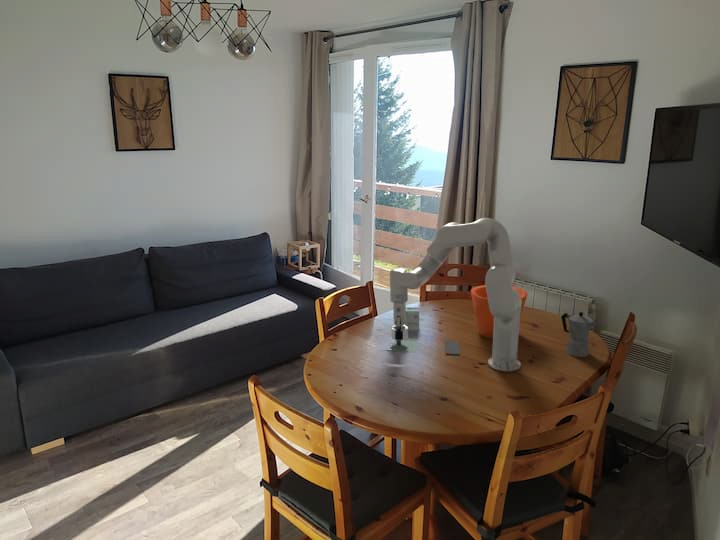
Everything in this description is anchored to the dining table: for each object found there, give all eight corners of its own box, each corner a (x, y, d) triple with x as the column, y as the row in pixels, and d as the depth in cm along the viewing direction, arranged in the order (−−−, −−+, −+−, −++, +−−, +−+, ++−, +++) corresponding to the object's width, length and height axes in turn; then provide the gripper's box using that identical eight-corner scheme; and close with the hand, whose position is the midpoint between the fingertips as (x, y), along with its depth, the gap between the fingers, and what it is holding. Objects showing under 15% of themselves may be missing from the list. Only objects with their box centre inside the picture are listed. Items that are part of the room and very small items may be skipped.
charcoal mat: (459, 355, 215) (459, 354, 215) (426, 353, 217) (426, 352, 217) (458, 342, 229) (458, 341, 229) (426, 341, 231) (426, 340, 231)
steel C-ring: (407, 340, 220) (407, 330, 219) (391, 340, 221) (390, 330, 220) (408, 334, 227) (408, 324, 226) (392, 334, 228) (392, 324, 227)
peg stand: (416, 354, 217) (416, 338, 215) (378, 352, 219) (378, 337, 217) (417, 340, 232) (417, 325, 230) (382, 338, 234) (382, 324, 233)
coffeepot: (598, 355, 212) (603, 314, 208) (585, 361, 207) (589, 318, 203) (566, 343, 225) (569, 304, 220) (552, 348, 220) (555, 308, 215)
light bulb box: (419, 327, 247) (419, 306, 244) (419, 333, 241) (419, 311, 238) (396, 327, 248) (396, 306, 246) (396, 332, 242) (396, 310, 239)
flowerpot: (531, 343, 226) (534, 300, 221) (474, 343, 227) (476, 301, 222) (516, 323, 250) (518, 284, 246) (464, 324, 251) (466, 285, 246)
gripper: (406, 303, 211) (407, 344, 215) (408, 291, 228) (409, 329, 232) (388, 303, 212) (389, 343, 216) (391, 291, 229) (392, 329, 233)
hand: (399, 336), depth 224 cm, fingers closed on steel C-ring, 7 cm apart
